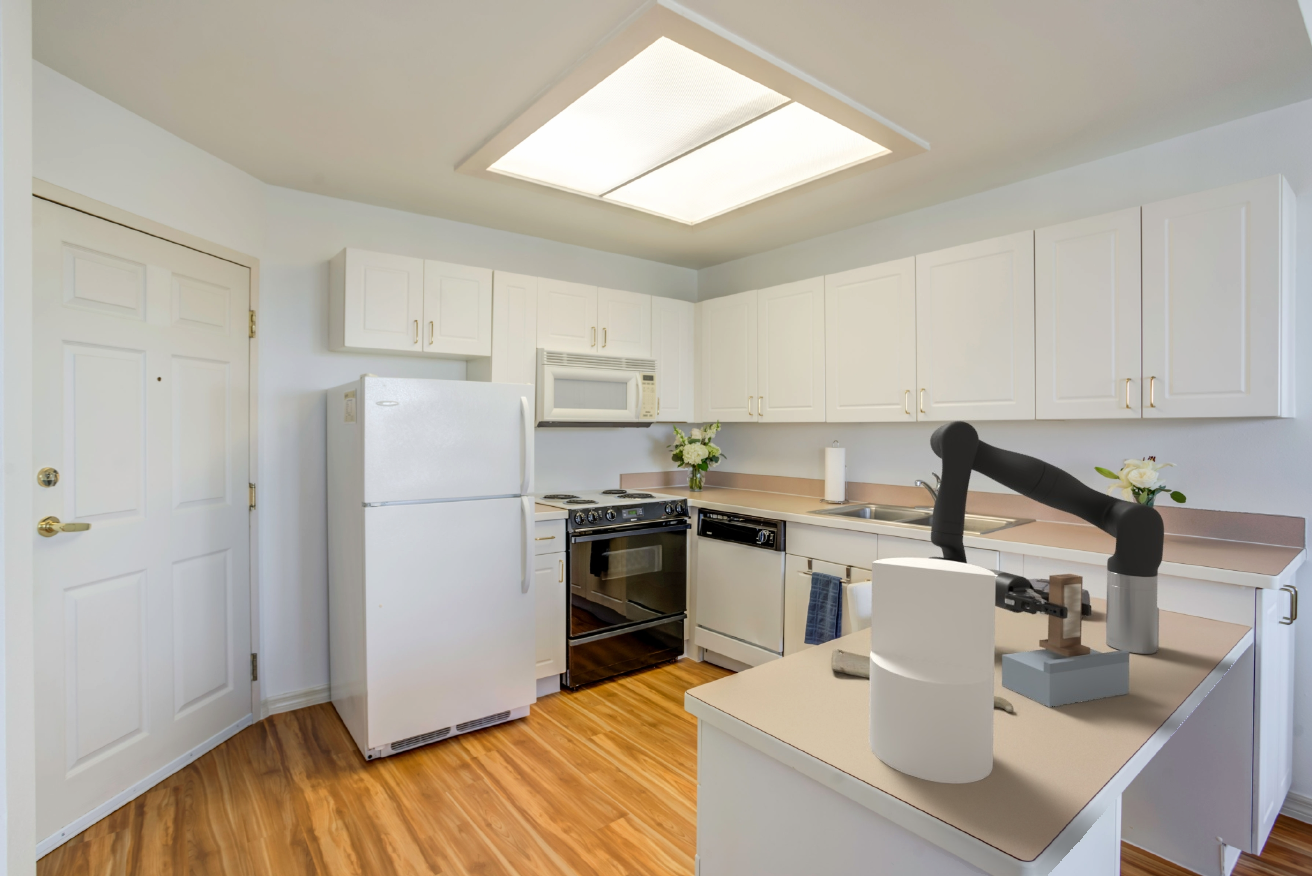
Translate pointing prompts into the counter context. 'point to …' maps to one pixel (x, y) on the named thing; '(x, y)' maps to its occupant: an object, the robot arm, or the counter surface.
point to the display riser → (1066, 675)
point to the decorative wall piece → (861, 667)
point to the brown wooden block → (1067, 631)
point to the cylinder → (932, 668)
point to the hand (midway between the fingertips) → (1077, 611)
